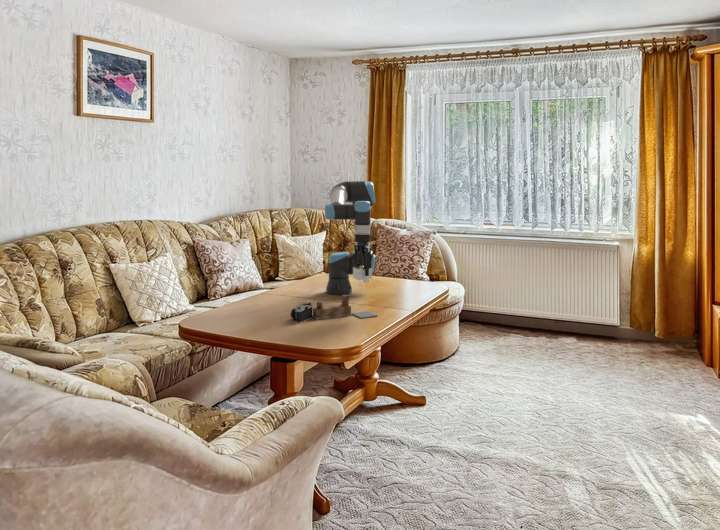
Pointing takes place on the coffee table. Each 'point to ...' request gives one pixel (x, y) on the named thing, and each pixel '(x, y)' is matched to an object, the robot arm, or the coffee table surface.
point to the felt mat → (364, 314)
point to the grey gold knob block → (360, 272)
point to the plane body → (332, 309)
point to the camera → (302, 312)
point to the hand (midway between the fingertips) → (362, 281)
